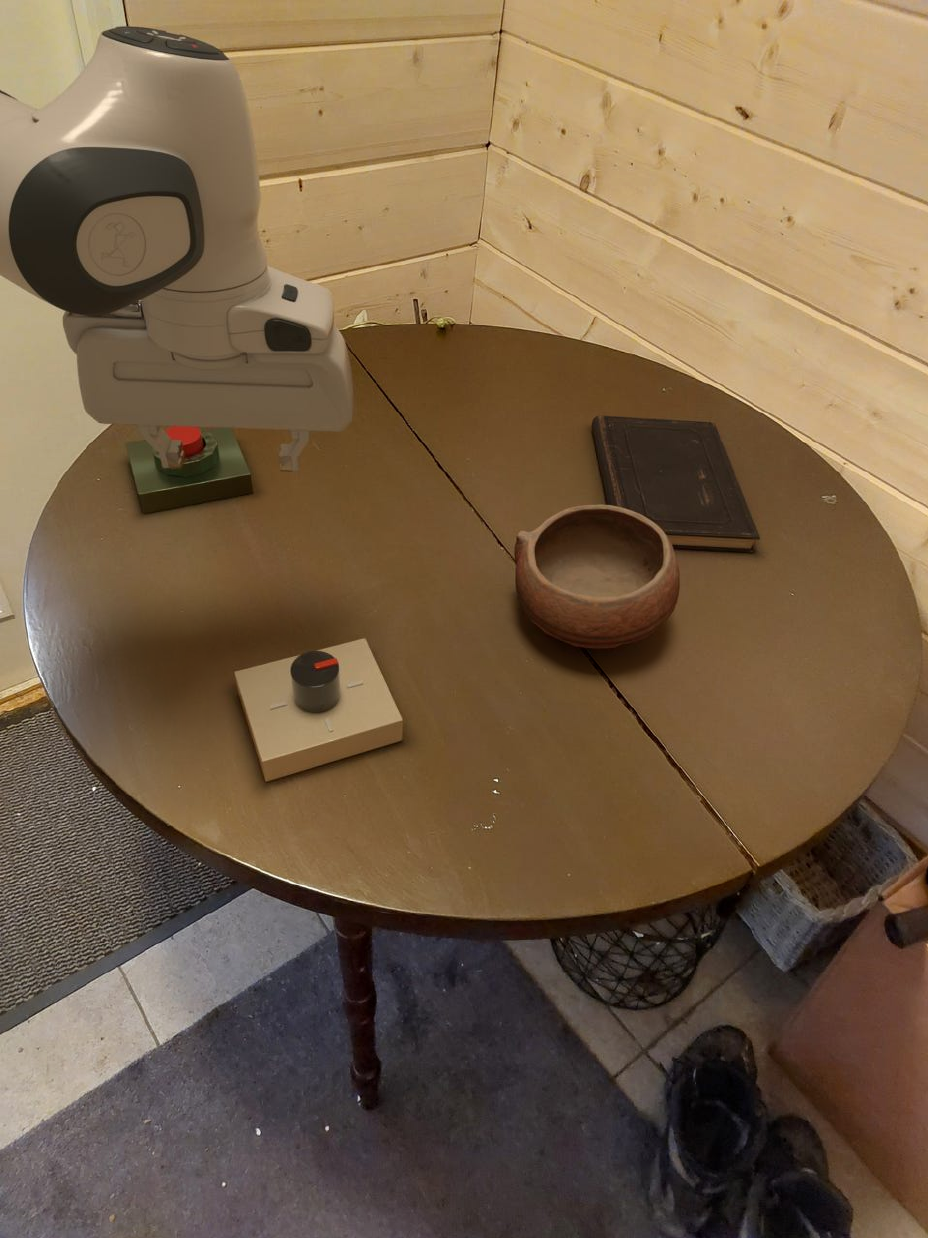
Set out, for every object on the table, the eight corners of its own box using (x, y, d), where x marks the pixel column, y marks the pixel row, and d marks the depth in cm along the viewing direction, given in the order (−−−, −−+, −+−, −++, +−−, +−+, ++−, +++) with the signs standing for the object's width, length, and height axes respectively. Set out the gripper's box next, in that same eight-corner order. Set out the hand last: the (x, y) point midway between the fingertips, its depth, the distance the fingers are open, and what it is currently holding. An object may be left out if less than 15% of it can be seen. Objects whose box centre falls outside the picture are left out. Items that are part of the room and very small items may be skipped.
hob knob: (300, 719, 69) (297, 690, 66) (288, 684, 71) (284, 655, 69) (346, 706, 70) (345, 677, 68) (332, 672, 73) (330, 643, 70)
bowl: (489, 576, 87) (499, 500, 80) (623, 553, 91) (644, 480, 84) (544, 688, 77) (560, 613, 70) (691, 657, 81) (721, 584, 74)
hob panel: (265, 782, 68) (261, 760, 66) (238, 693, 74) (233, 670, 72) (402, 740, 72) (403, 718, 70) (365, 659, 78) (365, 636, 76)
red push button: (169, 460, 90) (166, 447, 89) (163, 440, 93) (160, 427, 92) (206, 454, 92) (204, 441, 90) (199, 434, 94) (197, 421, 93)
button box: (143, 514, 90) (134, 480, 87) (130, 462, 96) (121, 429, 93) (253, 493, 94) (248, 460, 91) (233, 444, 100) (228, 412, 97)
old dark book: (710, 437, 109) (715, 421, 107) (753, 553, 93) (760, 537, 91) (590, 429, 108) (593, 414, 106) (613, 545, 92) (617, 530, 90)
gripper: (41, 318, 55) (93, 485, 65) (349, 332, 57) (353, 492, 67) (68, 277, 60) (112, 440, 70) (352, 291, 62) (356, 447, 71)
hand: (232, 466), depth 68 cm, fingers open, 8 cm apart
